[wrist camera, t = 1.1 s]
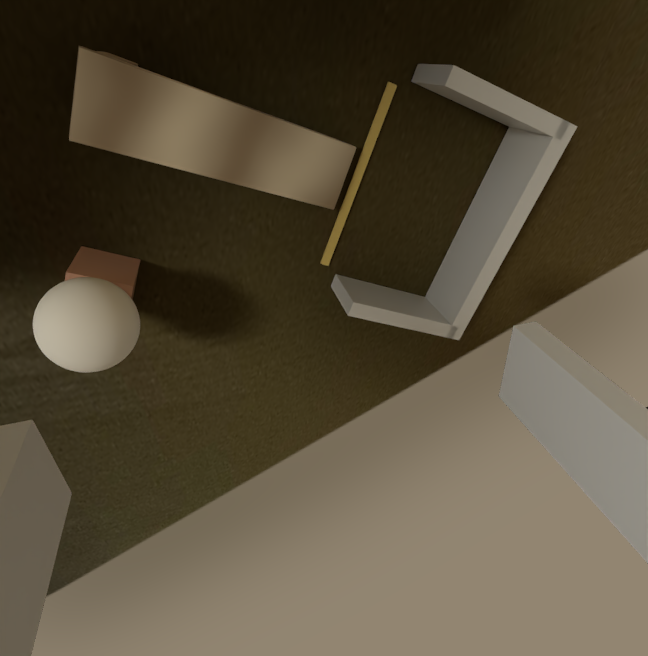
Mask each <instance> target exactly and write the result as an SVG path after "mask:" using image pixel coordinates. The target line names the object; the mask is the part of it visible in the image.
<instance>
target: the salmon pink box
mask: <svg viewBox="0 0 648 656" xmlns="http://www.w3.org/2000/svg"><path fill="white" fill-rule="evenodd" d="M139 265H140V259H136V258H131V257H127V256H123V255H118V254H114V253H110V252H105V251H101V250H96V249H92V248H88V247H83V246H81V248H80V249H79V251H78V253H77V254H76V256H75V258H74V259H73V261H72V263H71V265H70V266H69V268H68V270H67V271H66V276H65V281H66V280H70V279H73V278H79V277H93V278H99V279H103V280H106V281H109V282H111V283H113V284H115V285H117V286H118V287H120V288H121V289H123V290H124V291H125V292H126V293H127V294H128V295H129V296H130V298H131V299H132V300H133V296H134V291H135V286H136V280H137V275H138V270H139Z"/></svg>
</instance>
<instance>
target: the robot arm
mask: <svg viewBox="0 0 648 656" xmlns="http://www.w3.org/2000/svg"><path fill="white" fill-rule="evenodd" d="M499 397H500V398H501V399H502V401H503V402H504V403H505V404H506V405H507V406H508V407H509V409H510V410H511V411H512V412H513V413H514V414H515V415H516V416H517V417H518V419H519V420H520V421H521V422H522V423H523V424H524V425H525V427H526V428H527V429H528V430H529V431H530V432H531V433H532V434H533V435H534V437H535V438H536V439H537V440H538V441H539V442H540V443H541V444H542V446H543V447H544V448H545V449H546V450H547V451H548V452H549V453H550V455H551V456H552V457H553V458H554V459H555V460H556V461H557V462H558V463H559V465H560V466H561V467H562V468H563V469H564V470H565V471H566V472H567V474H568V475H569V476H570V477H571V478H572V479H573V480H574V481H575V482H576V484H577V485H578V486H579V487H580V488H581V489H582V490H583V491H584V493H585V494H586V495H587V496H588V497H589V498H590V499H591V500H592V502H593V503H594V504H595V505H596V506H597V507H598V508H599V509H600V510H601V512H602V513H603V514H604V515H605V516H606V517H607V518H608V519H609V521H610V522H611V523H612V524H613V525H614V526H615V527H616V528H617V530H618V531H619V532H620V533H621V534H622V535H623V536H624V537H625V538H626V539H627V541H628V542H629V543H630V544H631V545H632V546H633V547H634V548H635V550H636V551H637V552H638V553H639V554H640V555H641V556H642V557H643V559H644V560H645V561H646V562H647V563H648V407H644V406H643V405H642V404H641V403H639V402H638V401H637V400H635V399H634V398H633V397H632V396H630V395H629V394H628V393H626V392H625V391H624V390H623V389H621V388H620V387H619V386H618V385H616V384H615V383H614V382H613V381H611V380H610V379H609V378H608V377H606V376H605V375H604V374H602V373H601V372H600V371H599V370H597V369H596V368H595V367H594V366H592V365H591V364H590V363H588V362H587V361H586V360H585V359H583V358H582V357H581V356H580V355H578V354H577V353H576V352H574V351H573V350H572V349H571V348H569V347H568V346H567V345H566V344H564V343H563V342H562V341H561V340H559V339H558V338H557V337H555V336H554V335H553V334H551V333H550V332H549V331H548V330H546V329H545V328H544V327H543V326H541V325H540V324H539V323H538V322H536V321H535V322H530V323H525V324H520V325H515V326H513V330H512V336H511V340H510V345H509V349H508V354H507V359H506V364H505V368H504V373H503V378H502V383H501V387H500V392H499ZM71 494H72V493H71V491H70V489H69V487H68V485H67V483H66V481H65V480H64V478H63V476H62V474H61V472H60V470H59V468H58V467H57V465H56V463H55V461H54V459H53V457H52V455H51V453H50V452H49V450H48V448H47V446H46V444H45V442H44V440H43V438H42V437H41V435H40V433H39V431H38V429H37V427H36V425H35V423H34V422H33V420H28V421H23V422H18V423H13V424H8V425H3V426H0V656H31V654H32V650H33V646H34V642H35V638H36V634H37V630H38V626H39V622H40V618H41V614H42V610H43V606H44V602H45V598H46V594H47V590H48V586H49V582H50V578H51V574H52V570H53V566H54V562H55V558H56V554H57V550H58V546H59V542H60V538H61V534H62V530H63V526H64V522H65V518H66V514H67V510H68V506H69V502H70V498H71Z"/></svg>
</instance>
